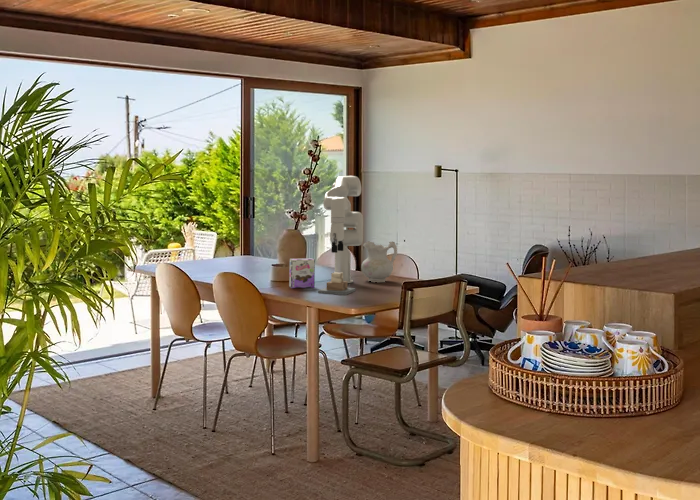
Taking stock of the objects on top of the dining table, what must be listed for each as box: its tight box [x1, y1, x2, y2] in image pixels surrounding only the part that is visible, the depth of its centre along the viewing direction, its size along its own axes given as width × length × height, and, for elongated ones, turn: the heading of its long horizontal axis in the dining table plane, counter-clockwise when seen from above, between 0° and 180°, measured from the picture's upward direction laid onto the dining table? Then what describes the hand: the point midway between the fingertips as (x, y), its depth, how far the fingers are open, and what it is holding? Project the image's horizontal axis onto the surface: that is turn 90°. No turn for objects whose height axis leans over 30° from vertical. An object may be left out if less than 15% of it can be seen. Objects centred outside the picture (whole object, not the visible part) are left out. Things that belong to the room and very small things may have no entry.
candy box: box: [288, 257, 316, 289], centre depth 479 cm, size 14×6×16 cm, turn 105°
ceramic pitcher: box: [361, 241, 398, 283], centre depth 509 cm, size 22×20×25 cm
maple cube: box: [330, 271, 343, 283], centre depth 462 cm, size 5×5×5 cm
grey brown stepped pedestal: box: [317, 280, 356, 295], centre depth 462 cm, size 16×16×6 cm
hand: (337, 251), depth 461 cm, fingers open, 9 cm apart
